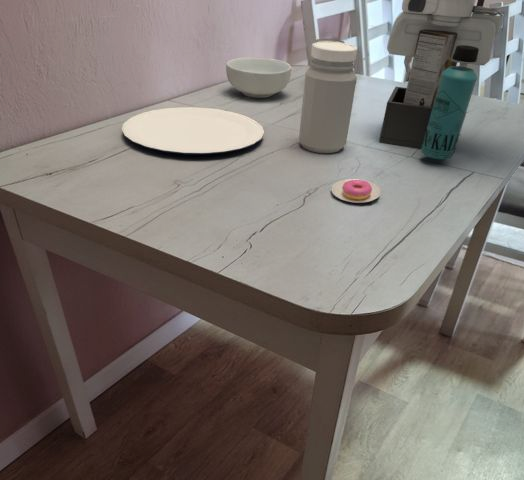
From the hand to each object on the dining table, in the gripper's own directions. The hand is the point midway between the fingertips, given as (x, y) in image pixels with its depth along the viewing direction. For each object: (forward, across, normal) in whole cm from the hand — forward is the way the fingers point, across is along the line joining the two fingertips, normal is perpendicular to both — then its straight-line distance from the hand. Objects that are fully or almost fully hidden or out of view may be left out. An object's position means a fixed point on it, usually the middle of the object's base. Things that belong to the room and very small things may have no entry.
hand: (429, 84), depth 102 cm
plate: (+11, +44, +22) cm, 50 cm away
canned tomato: (+11, +29, -35) cm, 47 cm away
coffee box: (+7, 0, 0) cm, 7 cm away
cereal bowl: (+11, +43, -16) cm, 47 cm away
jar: (+11, +18, +16) cm, 26 cm away
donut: (+11, +7, +36) cm, 38 cm away
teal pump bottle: (+11, -5, +14) cm, 18 cm away
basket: (+11, 0, 0) cm, 11 cm away
